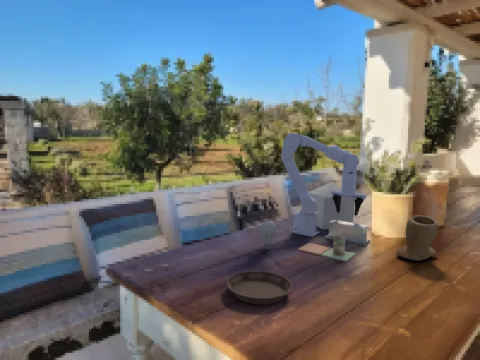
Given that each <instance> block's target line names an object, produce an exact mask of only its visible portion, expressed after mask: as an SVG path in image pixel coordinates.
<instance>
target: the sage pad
mask: <svg viewBox="0 0 480 360" xmlns="http://www.w3.org/2000/svg"><path fill="white" fill-rule="evenodd" d="M330 248H331V249H330V250H328V251H326V252H325V253H323V254H322V255H321V257H326V258H330V259H333V260H339V261H343V262H348V261H349V260H350V259H352V258H353V257H354V256H356V252H350V251H347V250H345V255H343V256H337V255H334V254H333V247H330Z"/></svg>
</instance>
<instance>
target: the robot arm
mask: <svg viewBox="0 0 480 360" xmlns="http://www.w3.org/2000/svg"><path fill="white" fill-rule="evenodd" d="M299 146H300V147H310V148H312V149H314V150H317V151H319V152H321V153H324V154H325V157H326V159H330V160H331V161H334V162H336V163H339V164H342V173H341V174H342V176H341V177H342V178H341V188H342V189H341V191H335V190H332V191H331V195H333V197H332V199H333V201H334V203H335V206H336V211H337V213H339V212H340V205H341V198H342V196H344V197H351V198H355V200H354V215H353V217H354V216H356V217H357V216H358V215H359V212H360V210H361V209H360V208H361V206H362V204H363V203H364V201H365V200H366V199H367V194H366V193H360V192H356V188H357V177H358V176H357V175H358V174H357V173H358V172H357V170H358V169H357V168H358V165H359V163H360V161H359V160H360V159H359V157H358V156H357V154H353V153H352V152H350V150H348V149H347V150H344V149H343V148H340V146H339V145H337V144H335V145H334V144H331V145H329V146H328V145H326V144H324V143H322V142H319V141H317V140H316V139H314V138H311V137H310V136H306V135H303V134H298V133H296V132H290V133H287V135H286V137H284V139H283V143H282V148H281V154H280V159H281V161H282V163H283V165H284V167H285V168H284V169H285V170H286V173H287V174H288V175H289V179H290V180H291V183H292V184H293V186H294V187H293V188H294V189H295V191H296V194H297V196H298V198H299V200H300V205H301V210H300V211H296V212H295V213H294V216H293V221H292V222H293V223H292V225H293V227H292V231H291V232H292V234H297V235H302V236H306V237H314V236H316V235H319V234H320V231H318V230H317V226H316V223H317V212H316V210H317V204H316V203H315V200H314V198H313V197H311V196H310V194H309V192H310V191H309V190H308V188H307V186H306V183H305V181H304V179H303V177H302V175H301V173H300V171H299V168H298V167H297V164H296V161H295V160H294V158H293V156H294V154H295V153H296V151H297V149H298V147H299Z"/></svg>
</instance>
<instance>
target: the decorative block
mask: <svg viewBox="0 0 480 360" xmlns="http://www.w3.org/2000/svg"><path fill="white" fill-rule="evenodd" d="M341 189H342V187H340V186H338V185H336V184H335V183H333V182H329V183H327V184H325V185H321V186H319V187H317V188H314V189H313V190H309V191H308V192H309V194H310V196H311V197H313V198H314V200H315V203H316V204H317V210H316V212H317V223H316V228H317V227H318V228H320V229H322V230H329V222H330V221H332V220H339V221H345V222H351V223H354V212H355V201H354V200H355V199H356V198H351V197H344V196H342V198H341V205H340V212H339V213H337V211H336V206H335V203H334V201H333V199H332V197H333V195H331V191H332V190H335V191H341Z"/></svg>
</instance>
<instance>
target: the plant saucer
mask: <svg viewBox="0 0 480 360" xmlns="http://www.w3.org/2000/svg"><path fill="white" fill-rule="evenodd" d="M226 284H227V288H228V289H229V291H230V293H231V294H232V295H233V296H234V297H235V298H237V299H238V300H240V301H242V302H245V303H248V304H253V305H271V304H275V303H277V302H279V301H281V300H283V299H284V298H285V297H287V295H288V294H289V293H290V291H291V289H292V286H293V285H292V283H291V281H290V280H289V279H288V278H286V277H284V276H282V275H280V274H277V273H275V272H269V271H261V270H250V271H243V272H239V273H236V274H234V275H231V276H230V277H229V278H228V280H227V282H226Z"/></svg>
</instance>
